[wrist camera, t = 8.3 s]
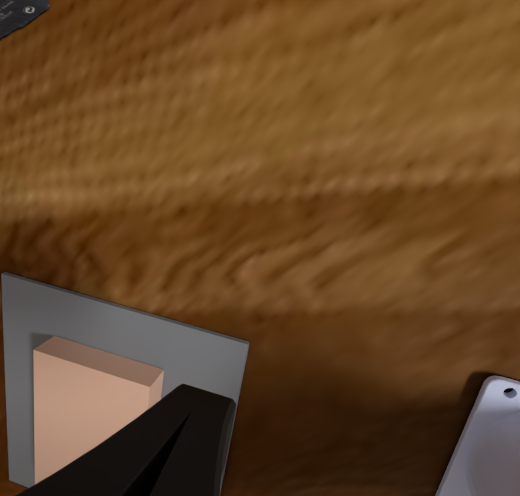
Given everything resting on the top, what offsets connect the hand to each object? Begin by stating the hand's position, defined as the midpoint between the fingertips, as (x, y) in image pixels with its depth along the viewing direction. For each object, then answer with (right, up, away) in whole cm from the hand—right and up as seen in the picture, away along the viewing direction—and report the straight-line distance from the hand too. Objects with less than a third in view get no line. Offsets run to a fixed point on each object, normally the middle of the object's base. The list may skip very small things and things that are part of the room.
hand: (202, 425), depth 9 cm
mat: (-8, -7, +15) cm, 18 cm away
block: (-5, -8, +13) cm, 16 cm away
